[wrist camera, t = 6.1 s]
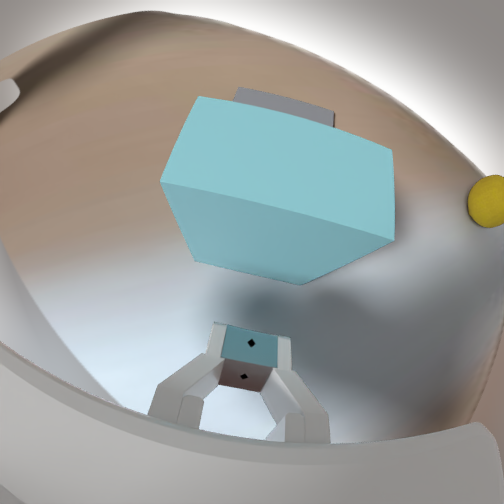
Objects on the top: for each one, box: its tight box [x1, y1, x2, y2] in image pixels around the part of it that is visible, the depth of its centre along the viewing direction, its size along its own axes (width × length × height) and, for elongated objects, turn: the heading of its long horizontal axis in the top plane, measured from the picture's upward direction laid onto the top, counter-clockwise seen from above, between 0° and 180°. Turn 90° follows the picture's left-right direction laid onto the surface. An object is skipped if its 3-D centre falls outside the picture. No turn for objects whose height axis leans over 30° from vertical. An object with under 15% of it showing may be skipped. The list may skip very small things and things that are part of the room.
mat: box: [233, 87, 334, 127], centre depth 23 cm, size 13×10×1 cm
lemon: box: [468, 175, 504, 228], centre depth 20 cm, size 6×6×8 cm
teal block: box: [160, 96, 395, 285], centre depth 15 cm, size 4×8×12 cm, turn 78°
